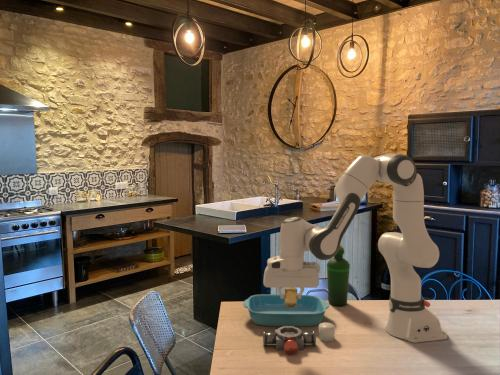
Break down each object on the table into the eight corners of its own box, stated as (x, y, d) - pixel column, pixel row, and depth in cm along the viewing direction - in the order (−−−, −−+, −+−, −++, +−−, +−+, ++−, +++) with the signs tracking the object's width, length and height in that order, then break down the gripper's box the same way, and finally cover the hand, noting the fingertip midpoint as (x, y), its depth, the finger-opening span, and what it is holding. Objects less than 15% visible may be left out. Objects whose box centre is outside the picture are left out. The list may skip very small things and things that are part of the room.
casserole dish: (323, 308, 184) (324, 293, 183) (333, 330, 162) (333, 312, 161) (243, 308, 184) (243, 293, 184) (242, 330, 162) (242, 313, 161)
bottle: (352, 301, 190) (353, 244, 188) (344, 309, 182) (345, 249, 179) (331, 297, 196) (331, 241, 194) (322, 304, 187) (323, 246, 185)
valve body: (312, 338, 153) (312, 325, 153) (318, 355, 141) (318, 340, 141) (262, 339, 153) (262, 326, 153) (264, 355, 141) (264, 341, 141)
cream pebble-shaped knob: (332, 334, 157) (332, 322, 157) (336, 342, 151) (336, 329, 151) (317, 334, 157) (317, 322, 157) (320, 342, 151) (320, 329, 151)
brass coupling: (296, 302, 149) (296, 287, 149) (297, 307, 145) (298, 291, 144) (283, 302, 149) (284, 287, 149) (285, 307, 145) (285, 291, 144)
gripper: (318, 259, 149) (317, 295, 150) (263, 259, 149) (262, 295, 150) (321, 264, 142) (320, 302, 144) (264, 263, 142) (263, 301, 143)
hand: (290, 298), depth 147 cm, fingers closed on brass coupling, 5 cm apart
